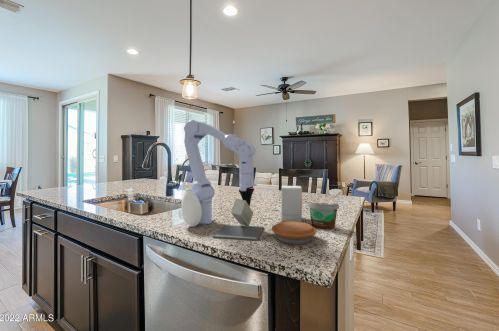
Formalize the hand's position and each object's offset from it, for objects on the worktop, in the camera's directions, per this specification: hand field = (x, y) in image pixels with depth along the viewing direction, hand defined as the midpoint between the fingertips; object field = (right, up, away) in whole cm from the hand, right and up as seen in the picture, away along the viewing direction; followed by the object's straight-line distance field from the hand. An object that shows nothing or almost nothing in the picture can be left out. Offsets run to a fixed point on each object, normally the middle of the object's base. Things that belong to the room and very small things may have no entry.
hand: (246, 206), depth 98 cm
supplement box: (+20, -8, +12) cm, 25 cm away
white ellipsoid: (-22, -8, 0) cm, 23 cm away
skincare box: (0, -6, +2) cm, 6 cm away
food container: (+30, -9, -1) cm, 31 cm away
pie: (+16, -9, -14) cm, 23 cm away
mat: (-3, -9, -7) cm, 12 cm away
